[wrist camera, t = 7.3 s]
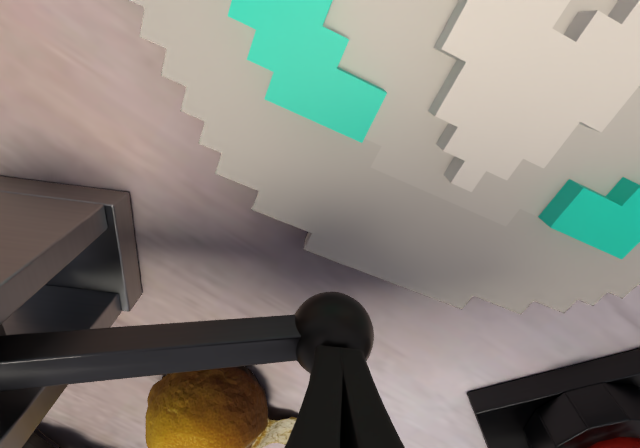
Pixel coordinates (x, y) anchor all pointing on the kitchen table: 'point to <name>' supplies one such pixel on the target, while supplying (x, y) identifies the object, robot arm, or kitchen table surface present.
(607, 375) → the control block
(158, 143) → the kitchen table surface
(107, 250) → the bracket
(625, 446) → the button
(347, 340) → the lever
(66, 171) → the kitchen table surface
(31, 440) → the toy figure
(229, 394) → the fruit
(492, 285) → the pixelated emblem disc
